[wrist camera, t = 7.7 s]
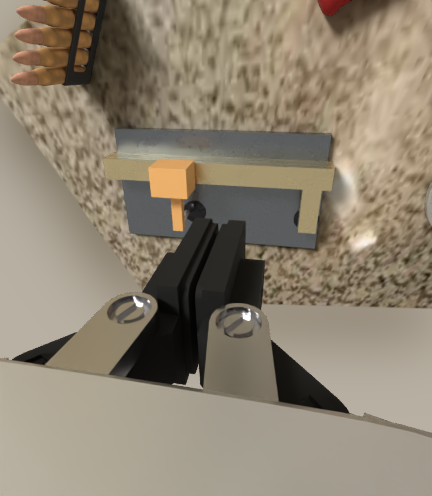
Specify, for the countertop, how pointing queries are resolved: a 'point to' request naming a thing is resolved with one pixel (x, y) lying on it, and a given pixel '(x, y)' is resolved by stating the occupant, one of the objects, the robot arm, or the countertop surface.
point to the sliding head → (173, 186)
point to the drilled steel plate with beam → (229, 180)
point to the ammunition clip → (60, 42)
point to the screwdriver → (331, 5)
